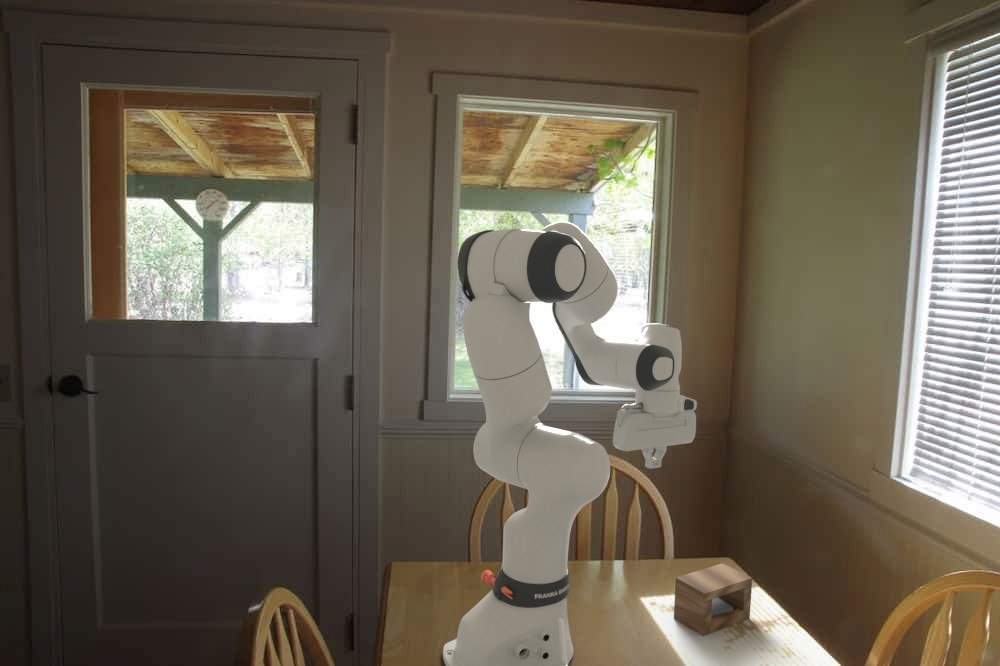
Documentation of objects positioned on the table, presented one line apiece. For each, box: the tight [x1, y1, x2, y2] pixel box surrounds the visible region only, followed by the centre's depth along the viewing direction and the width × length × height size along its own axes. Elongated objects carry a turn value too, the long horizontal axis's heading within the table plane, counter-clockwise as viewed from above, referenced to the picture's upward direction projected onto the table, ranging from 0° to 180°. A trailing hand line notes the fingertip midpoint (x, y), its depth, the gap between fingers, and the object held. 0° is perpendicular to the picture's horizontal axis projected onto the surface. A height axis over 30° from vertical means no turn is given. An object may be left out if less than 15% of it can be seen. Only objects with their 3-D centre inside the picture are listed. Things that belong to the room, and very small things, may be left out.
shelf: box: [673, 563, 753, 637], centre depth 122 cm, size 13×7×8 cm, turn 121°
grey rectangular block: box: [711, 597, 733, 618], centre depth 124 cm, size 6×9×3 cm, turn 25°
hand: (653, 467), depth 134 cm, fingers closed
